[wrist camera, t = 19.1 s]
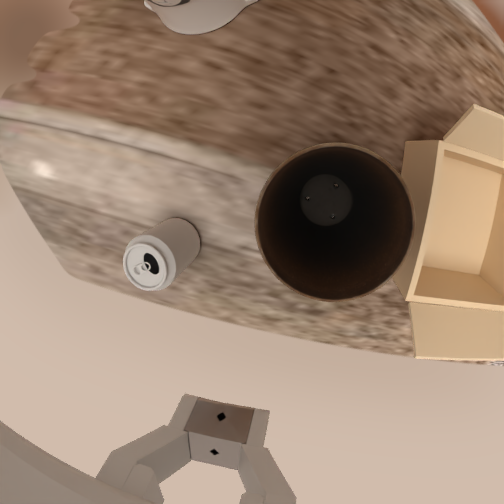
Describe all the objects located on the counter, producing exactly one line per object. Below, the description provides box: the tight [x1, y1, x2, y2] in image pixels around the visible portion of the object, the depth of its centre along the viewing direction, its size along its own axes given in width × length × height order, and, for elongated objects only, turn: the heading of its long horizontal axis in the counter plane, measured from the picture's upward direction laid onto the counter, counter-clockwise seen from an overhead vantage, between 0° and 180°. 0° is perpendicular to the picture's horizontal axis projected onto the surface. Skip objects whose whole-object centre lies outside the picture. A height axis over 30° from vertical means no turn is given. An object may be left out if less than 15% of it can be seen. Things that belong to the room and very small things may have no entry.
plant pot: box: [255, 143, 415, 302], centre depth 35 cm, size 15×15×16 cm
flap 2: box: [408, 302, 504, 361], centre depth 29 cm, size 7×17×1 cm
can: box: [123, 218, 200, 291], centre depth 42 cm, size 8×8×12 cm
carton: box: [392, 140, 504, 311], centre depth 34 cm, size 18×18×12 cm
